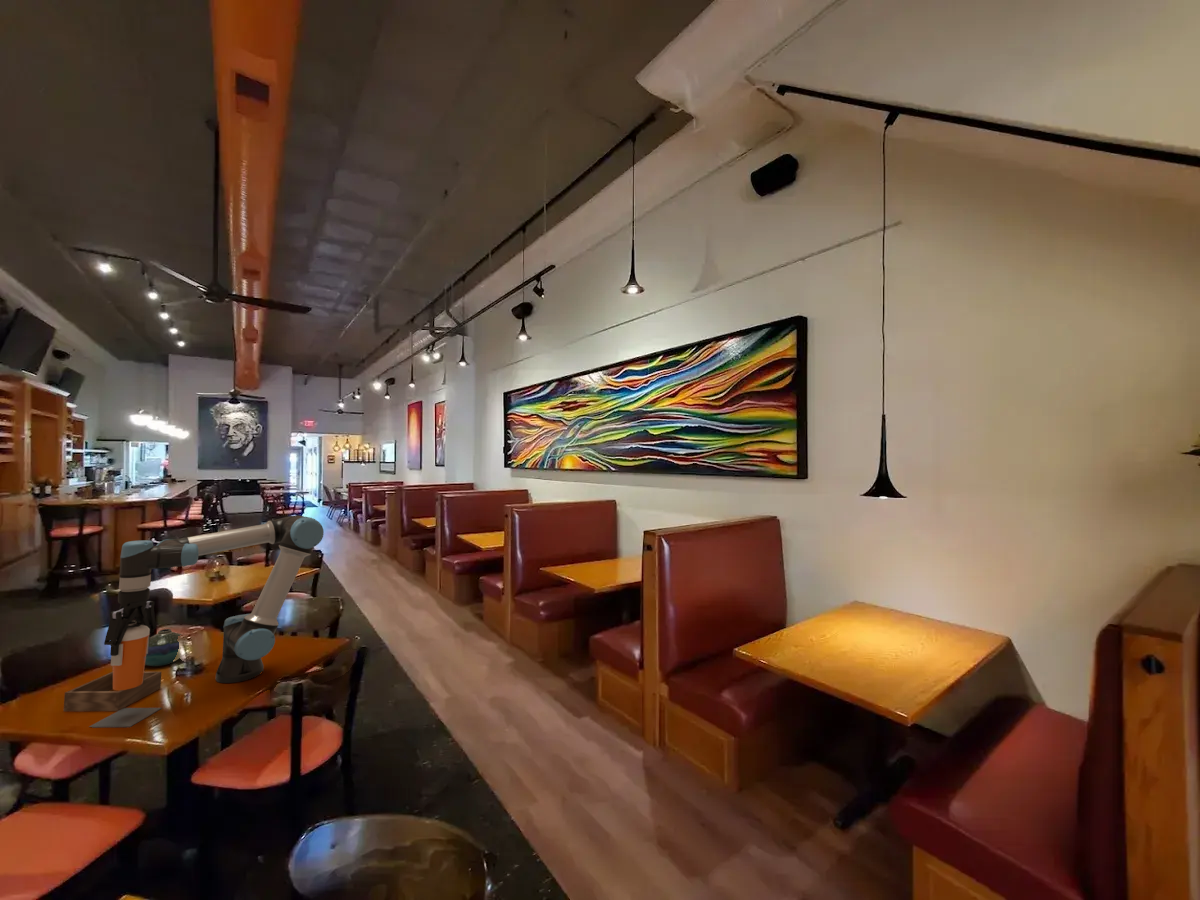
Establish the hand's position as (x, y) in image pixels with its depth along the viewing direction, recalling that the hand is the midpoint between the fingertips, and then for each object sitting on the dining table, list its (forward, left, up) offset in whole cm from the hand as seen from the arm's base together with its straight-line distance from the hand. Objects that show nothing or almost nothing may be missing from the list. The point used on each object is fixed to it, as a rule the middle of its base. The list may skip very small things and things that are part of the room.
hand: (129, 659), depth 160 cm
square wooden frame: (+15, -13, -19) cm, 27 cm away
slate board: (0, 0, -19) cm, 19 cm away
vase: (+24, -45, -19) cm, 54 cm away
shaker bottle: (0, 0, -9) cm, 9 cm away
